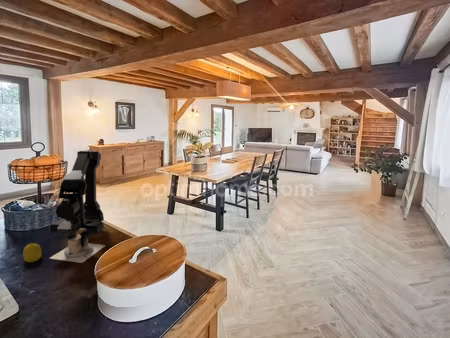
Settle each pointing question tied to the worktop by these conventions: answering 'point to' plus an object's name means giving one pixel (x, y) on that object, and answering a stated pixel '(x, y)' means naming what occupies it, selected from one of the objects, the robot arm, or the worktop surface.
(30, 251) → the lemon
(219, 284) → the worktop surface
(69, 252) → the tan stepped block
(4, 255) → the worktop surface
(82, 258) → the dial plate
